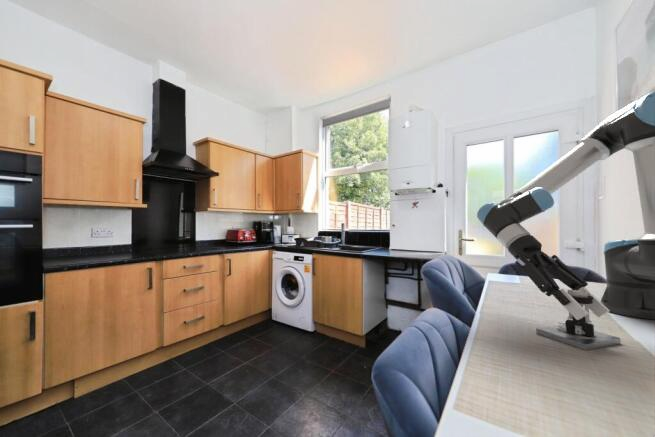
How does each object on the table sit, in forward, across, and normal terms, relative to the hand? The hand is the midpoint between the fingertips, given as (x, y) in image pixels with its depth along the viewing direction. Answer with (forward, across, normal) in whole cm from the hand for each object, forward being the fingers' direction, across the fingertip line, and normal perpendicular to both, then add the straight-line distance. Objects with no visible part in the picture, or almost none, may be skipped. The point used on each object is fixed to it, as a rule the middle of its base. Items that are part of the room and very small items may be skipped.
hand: (593, 315), depth 59 cm
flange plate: (+2, 0, -7) cm, 7 cm away
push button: (+1, 0, -6) cm, 7 cm away
